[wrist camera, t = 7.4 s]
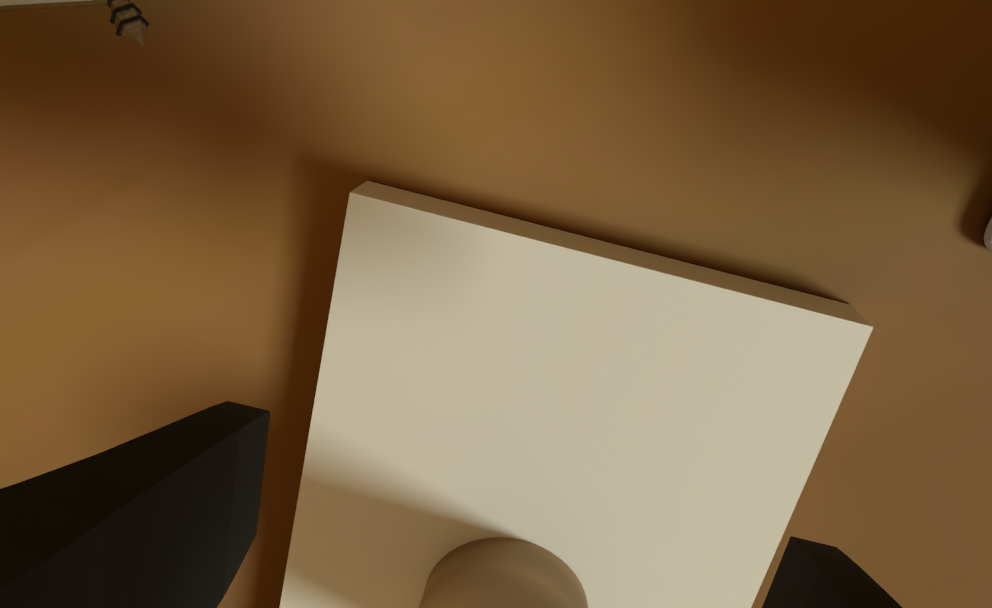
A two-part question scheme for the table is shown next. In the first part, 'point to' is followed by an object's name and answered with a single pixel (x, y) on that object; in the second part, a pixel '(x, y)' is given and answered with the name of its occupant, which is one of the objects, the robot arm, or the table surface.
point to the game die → (121, 8)
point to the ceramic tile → (555, 410)
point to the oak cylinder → (502, 578)
